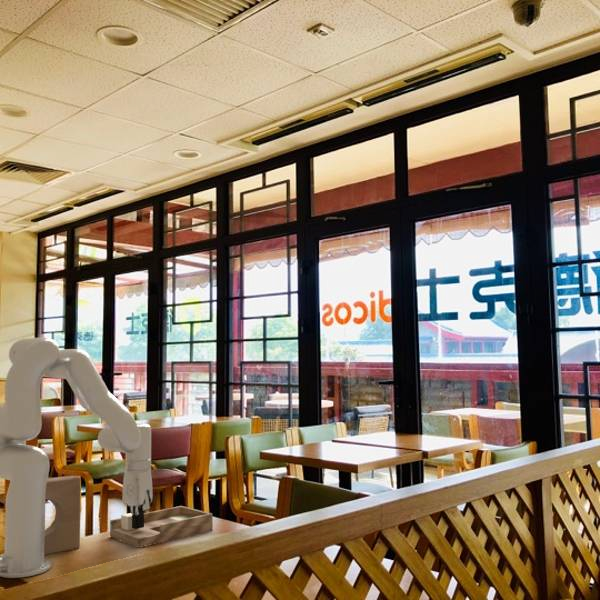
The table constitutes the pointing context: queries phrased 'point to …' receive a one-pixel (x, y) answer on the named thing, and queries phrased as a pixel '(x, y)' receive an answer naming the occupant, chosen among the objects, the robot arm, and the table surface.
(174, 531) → the box
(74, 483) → the decorative block
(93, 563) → the table surface
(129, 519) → the ivory block
